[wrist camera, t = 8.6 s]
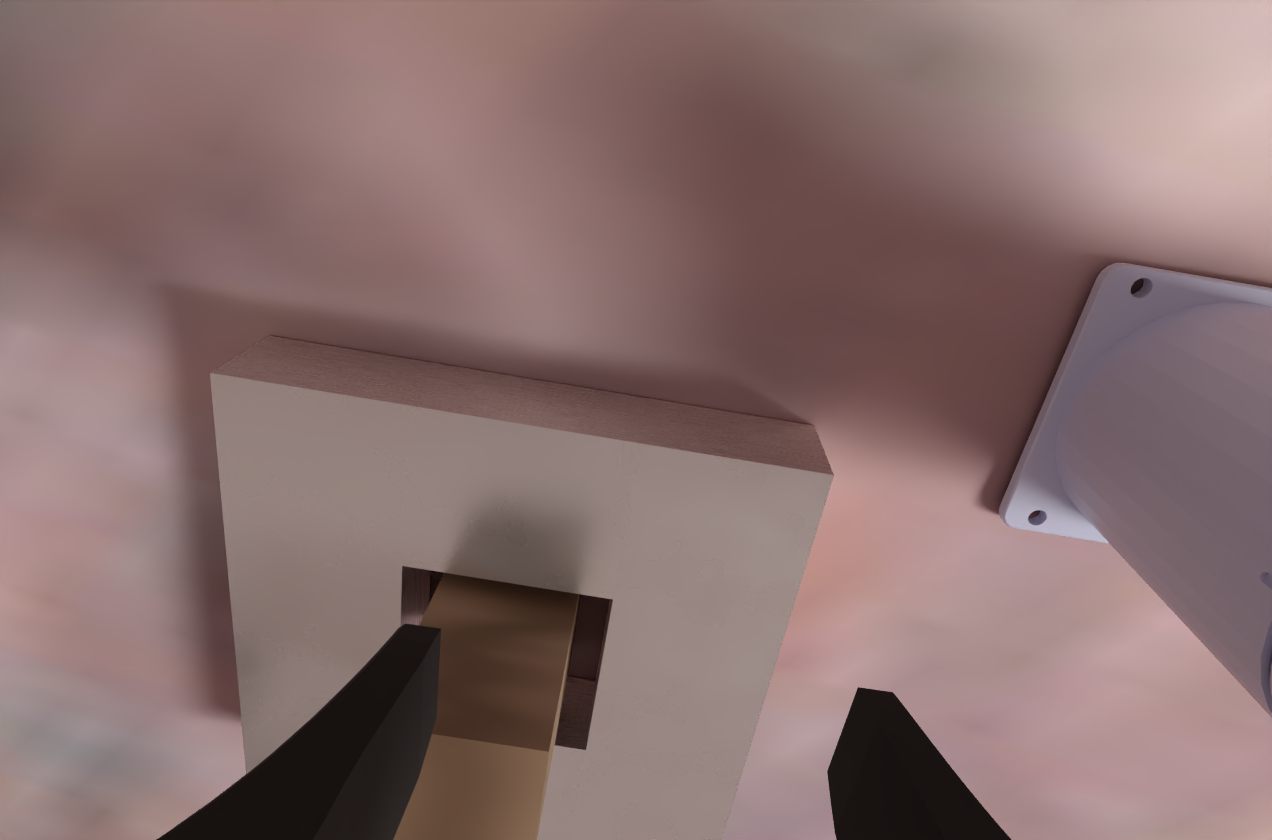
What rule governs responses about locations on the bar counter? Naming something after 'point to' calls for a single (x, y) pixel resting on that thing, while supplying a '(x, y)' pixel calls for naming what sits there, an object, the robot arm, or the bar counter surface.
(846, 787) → the robot arm
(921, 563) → the bar counter surface
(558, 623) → the pin
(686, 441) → the collar
